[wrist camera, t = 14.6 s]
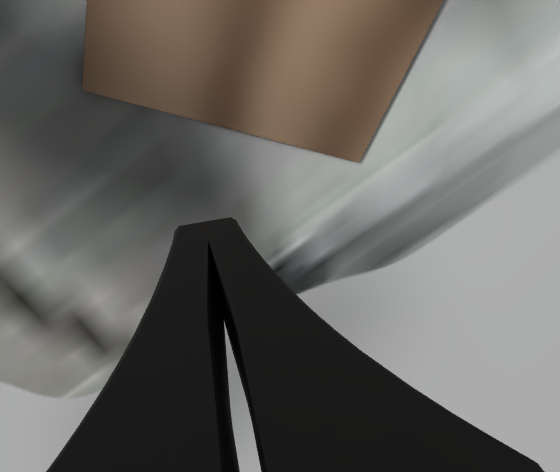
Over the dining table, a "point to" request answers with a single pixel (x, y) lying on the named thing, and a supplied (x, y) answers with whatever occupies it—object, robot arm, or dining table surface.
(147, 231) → the dining table surface
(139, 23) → the board
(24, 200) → the dining table surface
